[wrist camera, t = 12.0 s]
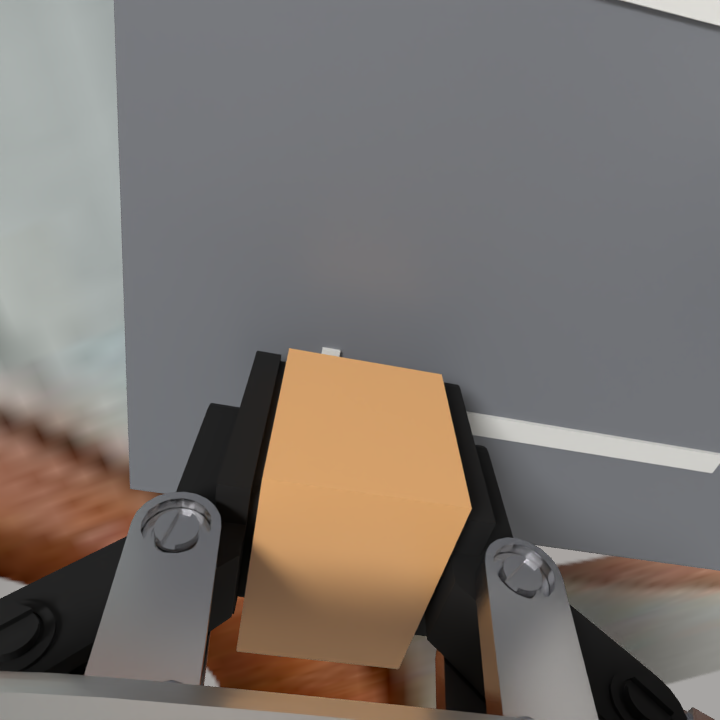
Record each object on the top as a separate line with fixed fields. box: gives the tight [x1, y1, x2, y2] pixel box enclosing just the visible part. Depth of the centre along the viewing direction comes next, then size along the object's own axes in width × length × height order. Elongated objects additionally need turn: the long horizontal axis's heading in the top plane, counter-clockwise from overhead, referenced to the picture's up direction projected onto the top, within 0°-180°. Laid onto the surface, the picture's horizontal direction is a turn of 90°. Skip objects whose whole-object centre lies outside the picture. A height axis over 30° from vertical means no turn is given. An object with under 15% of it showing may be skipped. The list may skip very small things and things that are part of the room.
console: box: [114, 0, 720, 571], centre depth 12 cm, size 18×17×2 cm
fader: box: [237, 348, 472, 669], centre depth 11 cm, size 3×4×5 cm
